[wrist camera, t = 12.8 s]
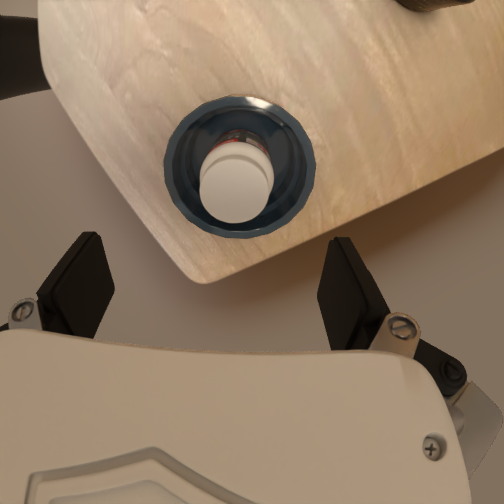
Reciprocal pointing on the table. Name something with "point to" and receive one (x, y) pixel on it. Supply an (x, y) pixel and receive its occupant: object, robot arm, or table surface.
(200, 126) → the blue bowl
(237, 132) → the pill bottle
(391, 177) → the table surface
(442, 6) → the supplement bottle
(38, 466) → the robot arm
